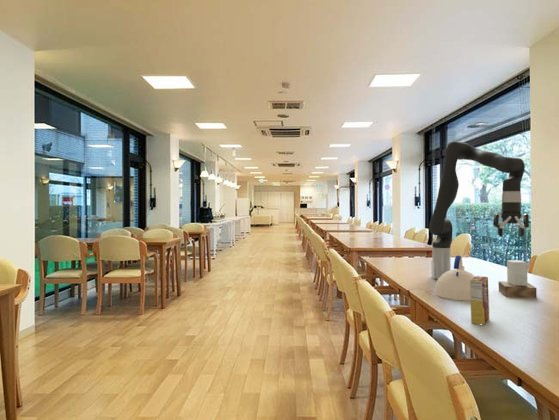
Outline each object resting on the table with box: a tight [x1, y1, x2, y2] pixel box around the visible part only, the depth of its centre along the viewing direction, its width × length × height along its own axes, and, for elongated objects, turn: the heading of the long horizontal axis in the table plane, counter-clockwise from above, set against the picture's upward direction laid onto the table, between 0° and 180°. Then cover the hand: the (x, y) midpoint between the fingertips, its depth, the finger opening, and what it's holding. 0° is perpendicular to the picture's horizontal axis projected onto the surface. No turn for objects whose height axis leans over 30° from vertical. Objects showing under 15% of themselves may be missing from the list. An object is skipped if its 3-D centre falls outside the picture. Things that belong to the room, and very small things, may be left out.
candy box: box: [470, 275, 490, 326], centre depth 134 cm, size 9×4×15 cm, turn 140°
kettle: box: [434, 255, 476, 302], centre depth 173 cm, size 20×21×18 cm
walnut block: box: [498, 280, 538, 299], centre depth 173 cm, size 12×12×5 cm
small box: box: [506, 259, 529, 286], centre depth 173 cm, size 8×6×10 cm
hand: (510, 236), depth 176 cm, fingers open, 8 cm apart
